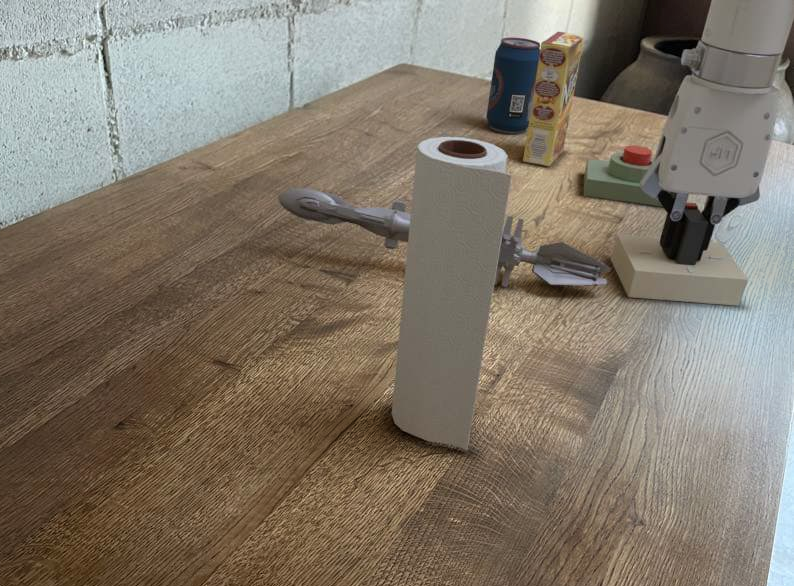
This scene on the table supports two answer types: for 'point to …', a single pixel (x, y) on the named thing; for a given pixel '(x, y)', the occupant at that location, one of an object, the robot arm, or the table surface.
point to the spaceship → (549, 262)
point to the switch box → (617, 180)
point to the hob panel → (677, 273)
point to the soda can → (513, 85)
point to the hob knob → (691, 235)
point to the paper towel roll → (448, 285)
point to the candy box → (552, 97)
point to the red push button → (637, 155)
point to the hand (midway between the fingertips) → (681, 253)
